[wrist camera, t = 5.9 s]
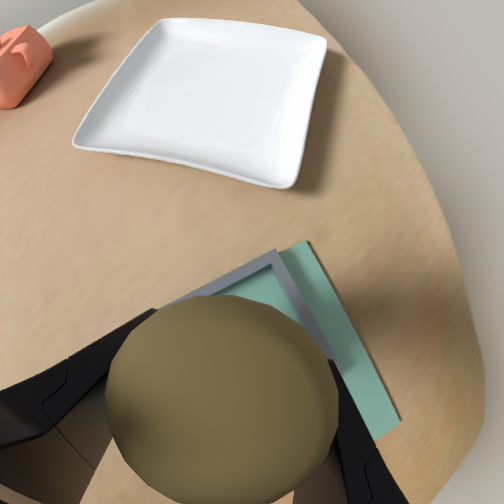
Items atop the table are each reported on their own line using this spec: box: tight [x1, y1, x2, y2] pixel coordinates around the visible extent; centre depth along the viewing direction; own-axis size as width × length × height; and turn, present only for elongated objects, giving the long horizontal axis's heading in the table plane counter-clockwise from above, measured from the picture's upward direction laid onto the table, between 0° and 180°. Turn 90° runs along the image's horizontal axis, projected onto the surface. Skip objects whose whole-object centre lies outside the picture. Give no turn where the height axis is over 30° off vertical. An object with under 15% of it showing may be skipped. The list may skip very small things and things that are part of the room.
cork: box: [105, 295, 338, 504], centre depth 10 cm, size 6×6×11 cm
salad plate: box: [72, 18, 328, 190], centre depth 26 cm, size 21×21×3 cm
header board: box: [157, 240, 400, 441], centre depth 20 cm, size 18×14×2 cm
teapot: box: [0, 25, 53, 109], centre depth 23 cm, size 12×18×10 cm, turn 73°
